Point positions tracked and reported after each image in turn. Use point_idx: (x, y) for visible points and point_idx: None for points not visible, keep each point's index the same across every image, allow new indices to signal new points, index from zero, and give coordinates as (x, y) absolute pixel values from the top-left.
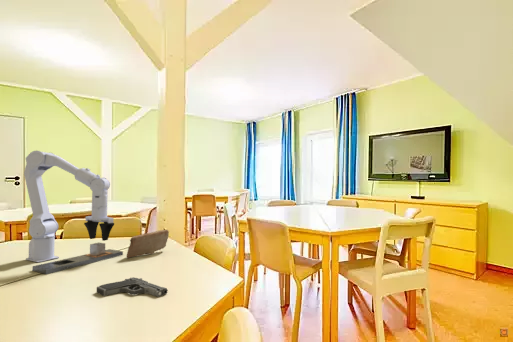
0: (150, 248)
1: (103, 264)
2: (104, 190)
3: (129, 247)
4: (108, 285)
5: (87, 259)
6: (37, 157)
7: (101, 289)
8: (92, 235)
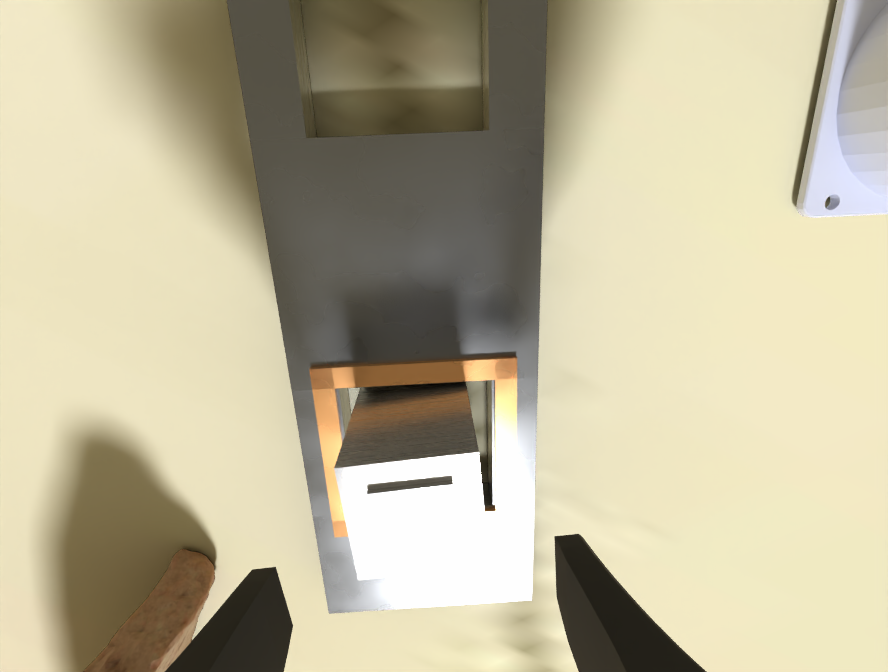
0: None
1: (132, 328)
2: None
3: (139, 657)
4: None
5: (292, 271)
6: None
7: None
8: (575, 606)
